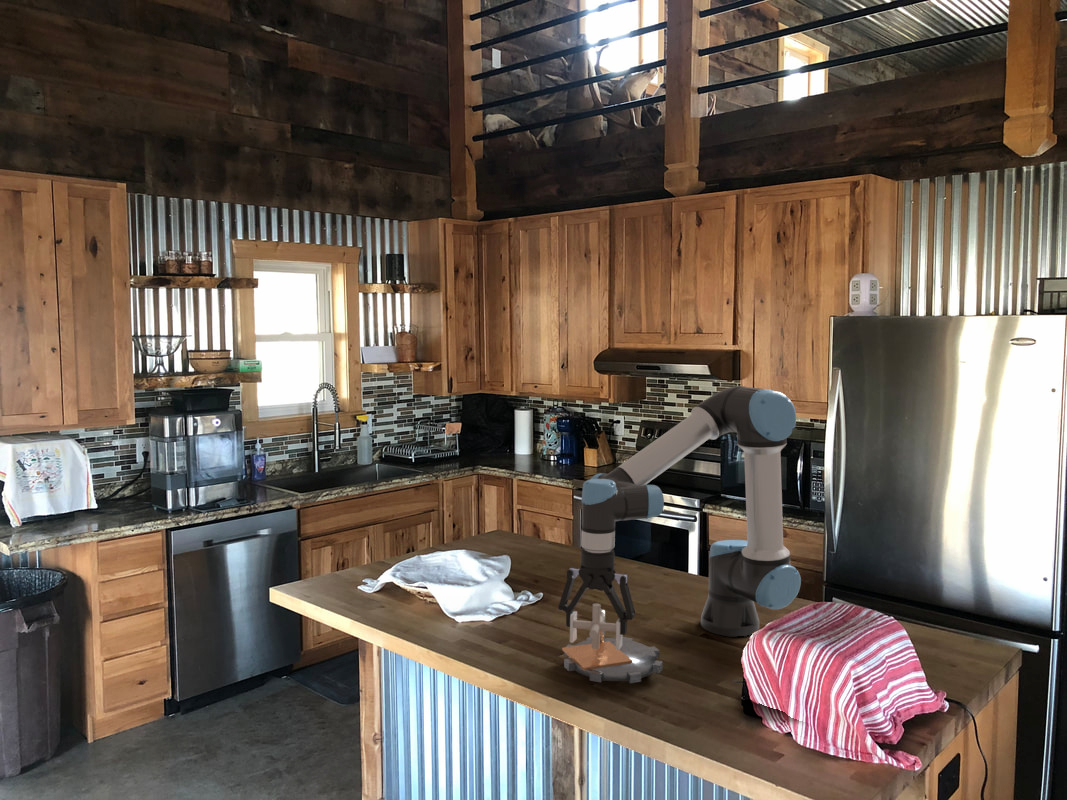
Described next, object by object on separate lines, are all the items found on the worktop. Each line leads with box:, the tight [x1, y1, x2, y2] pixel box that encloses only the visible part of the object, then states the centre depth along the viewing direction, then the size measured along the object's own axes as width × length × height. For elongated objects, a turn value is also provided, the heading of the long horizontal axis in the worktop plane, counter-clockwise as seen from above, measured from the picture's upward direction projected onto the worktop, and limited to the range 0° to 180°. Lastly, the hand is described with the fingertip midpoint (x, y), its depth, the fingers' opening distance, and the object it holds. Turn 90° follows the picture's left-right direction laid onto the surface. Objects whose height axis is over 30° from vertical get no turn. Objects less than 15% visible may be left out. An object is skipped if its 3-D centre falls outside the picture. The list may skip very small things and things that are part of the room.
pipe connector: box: [574, 603, 616, 649], centre depth 193 cm, size 10×10×10 cm
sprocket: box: [561, 608, 664, 684], centre depth 196 cm, size 23×23×10 cm
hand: (595, 644), depth 193 cm, fingers closed on pipe connector, 10 cm apart
